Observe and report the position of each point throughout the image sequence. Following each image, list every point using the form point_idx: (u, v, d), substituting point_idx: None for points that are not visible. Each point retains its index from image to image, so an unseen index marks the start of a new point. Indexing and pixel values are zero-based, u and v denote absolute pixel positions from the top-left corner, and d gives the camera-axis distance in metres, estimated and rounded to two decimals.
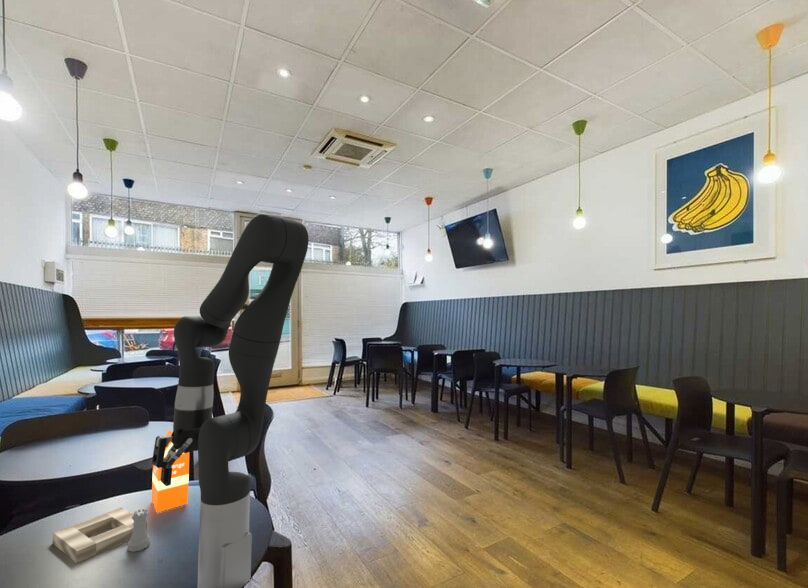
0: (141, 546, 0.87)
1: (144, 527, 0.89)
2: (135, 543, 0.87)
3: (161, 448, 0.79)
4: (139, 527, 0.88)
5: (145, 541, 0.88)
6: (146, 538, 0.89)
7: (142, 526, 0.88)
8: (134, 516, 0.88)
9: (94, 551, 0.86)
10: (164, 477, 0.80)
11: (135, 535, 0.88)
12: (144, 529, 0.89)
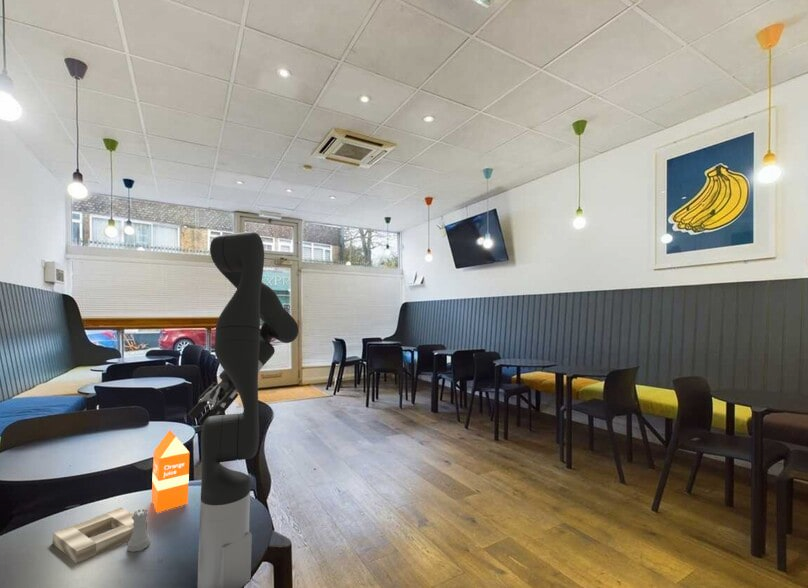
0: (141, 546, 0.87)
1: (144, 527, 0.89)
2: (135, 543, 0.87)
3: (209, 387, 1.07)
4: (139, 527, 0.88)
5: (145, 541, 0.88)
6: (146, 538, 0.89)
7: (142, 526, 0.88)
8: (134, 516, 0.88)
9: (94, 551, 0.86)
10: None
11: (135, 535, 0.88)
12: (144, 529, 0.89)
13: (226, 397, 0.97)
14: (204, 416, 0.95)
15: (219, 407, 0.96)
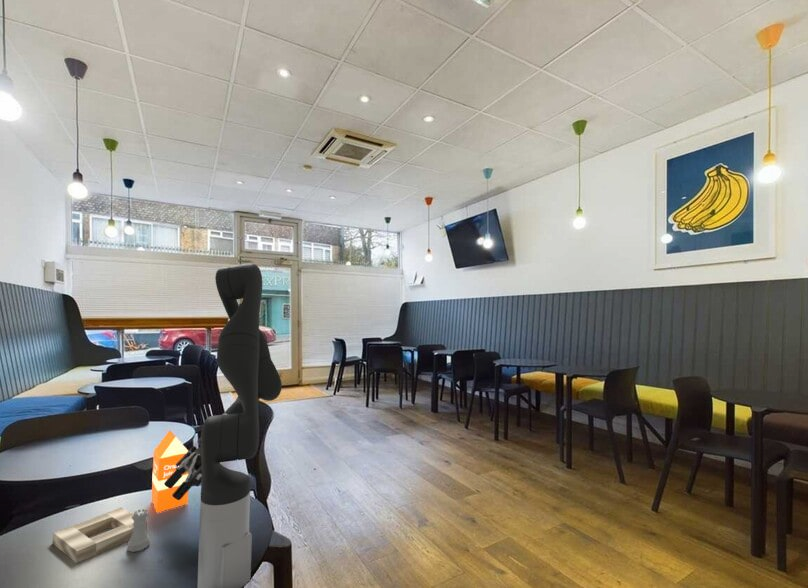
0: (141, 546, 0.87)
1: (144, 527, 0.89)
2: (135, 543, 0.87)
3: (187, 452, 1.02)
4: (139, 527, 0.88)
5: (145, 541, 0.88)
6: (146, 538, 0.89)
7: (142, 526, 0.88)
8: (134, 516, 0.88)
9: (94, 551, 0.86)
10: None
11: (135, 535, 0.88)
12: (144, 529, 0.89)
13: (202, 469, 0.92)
14: (178, 490, 0.91)
15: (194, 480, 0.91)
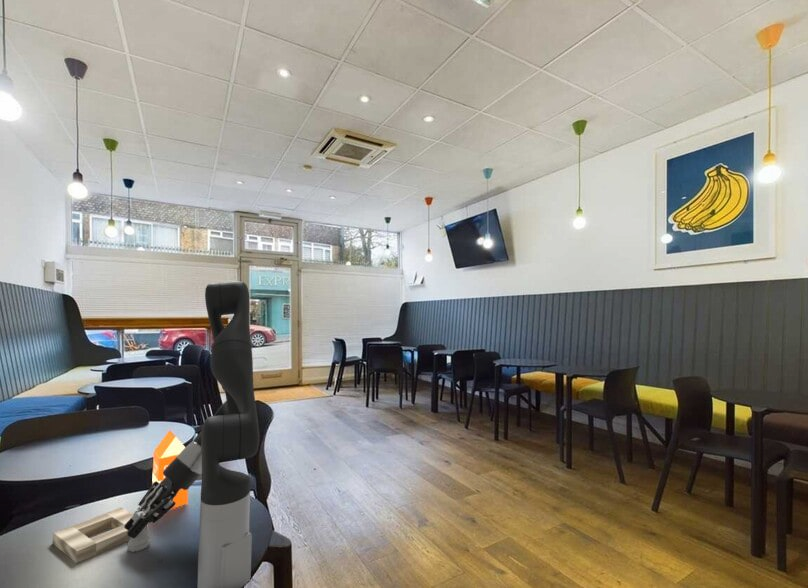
0: (141, 546, 0.87)
1: None
2: (135, 543, 0.87)
3: (149, 489, 0.95)
4: None
5: (145, 541, 0.88)
6: (146, 538, 0.89)
7: None
8: (134, 516, 0.88)
9: (94, 551, 0.86)
10: (131, 518, 0.90)
11: None
12: (144, 529, 0.89)
13: (158, 508, 0.87)
14: (133, 527, 0.86)
15: (149, 518, 0.86)
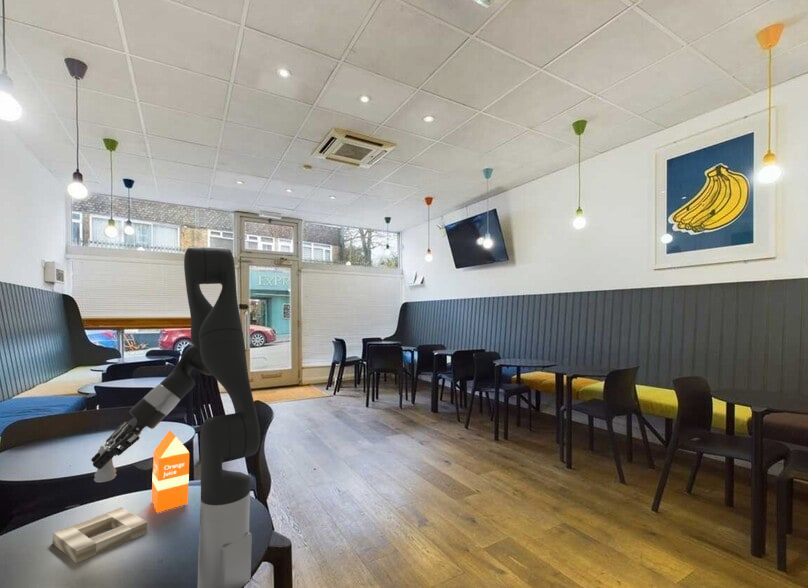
0: (107, 477, 0.92)
1: (110, 460, 0.94)
2: (101, 474, 0.92)
3: (117, 428, 1.00)
4: None
5: (111, 473, 0.93)
6: (112, 470, 0.93)
7: None
8: (100, 449, 0.93)
9: (94, 551, 0.86)
10: (98, 453, 0.95)
11: None
12: (110, 462, 0.94)
13: (123, 441, 0.92)
14: (99, 459, 0.91)
15: (114, 450, 0.91)
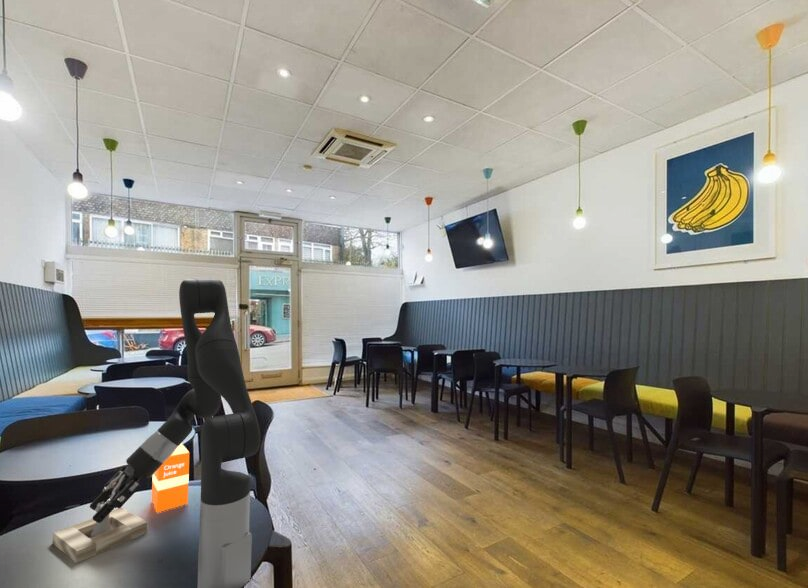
0: None
1: (107, 518, 0.93)
2: (98, 533, 0.91)
3: (117, 472, 1.00)
4: None
5: None
6: (109, 529, 0.92)
7: None
8: (97, 508, 0.92)
9: (94, 551, 0.86)
10: None
11: (98, 526, 0.91)
12: (107, 520, 0.93)
13: (124, 491, 0.91)
14: (99, 512, 0.89)
15: (115, 502, 0.89)
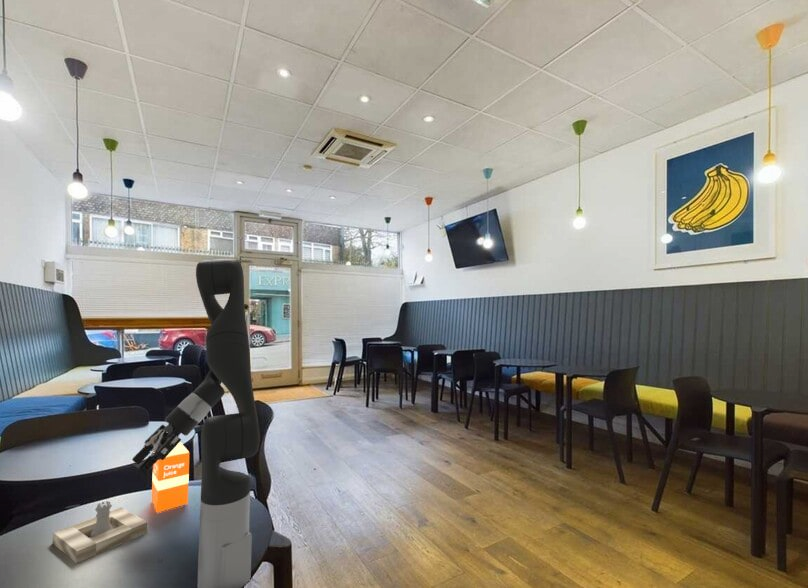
0: None
1: (107, 518, 0.93)
2: (98, 533, 0.91)
3: (156, 430, 1.07)
4: (102, 518, 0.92)
5: None
6: (109, 529, 0.92)
7: (105, 517, 0.92)
8: (97, 508, 0.92)
9: (94, 551, 0.86)
10: None
11: (98, 526, 0.91)
12: (107, 520, 0.93)
13: (167, 443, 0.97)
14: (144, 463, 0.95)
15: (159, 454, 0.95)
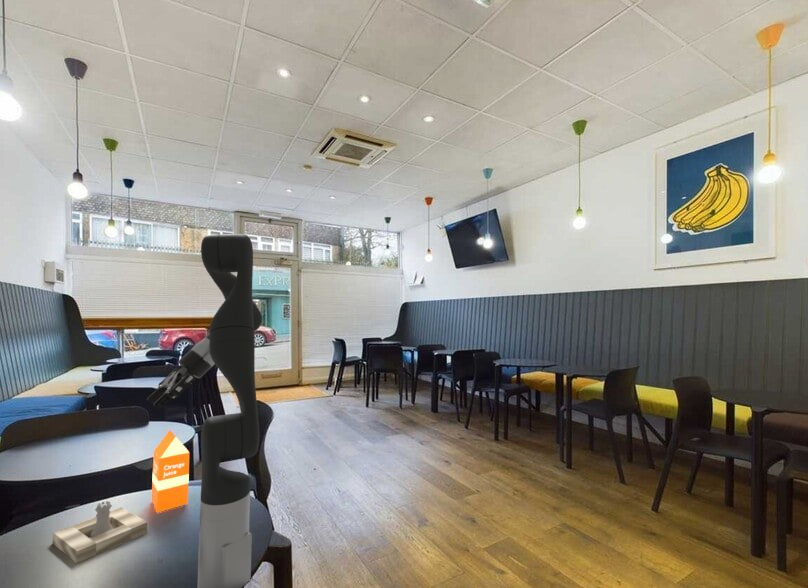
0: None
1: (107, 518, 0.93)
2: (98, 533, 0.91)
3: (170, 374, 1.08)
4: (102, 518, 0.92)
5: None
6: (109, 529, 0.92)
7: (105, 517, 0.92)
8: (97, 508, 0.92)
9: (94, 551, 0.86)
10: None
11: (98, 526, 0.91)
12: (107, 520, 0.93)
13: (182, 381, 0.99)
14: (159, 400, 0.97)
15: (174, 391, 0.97)
